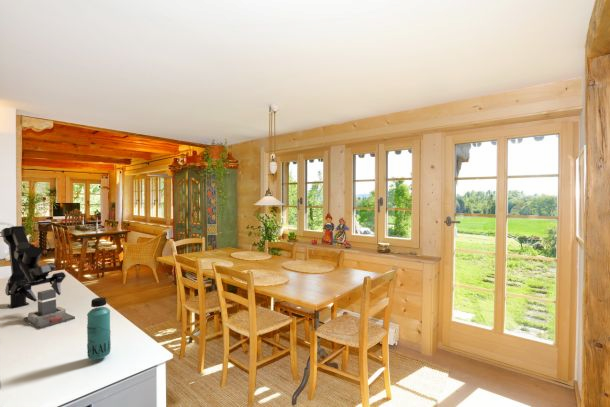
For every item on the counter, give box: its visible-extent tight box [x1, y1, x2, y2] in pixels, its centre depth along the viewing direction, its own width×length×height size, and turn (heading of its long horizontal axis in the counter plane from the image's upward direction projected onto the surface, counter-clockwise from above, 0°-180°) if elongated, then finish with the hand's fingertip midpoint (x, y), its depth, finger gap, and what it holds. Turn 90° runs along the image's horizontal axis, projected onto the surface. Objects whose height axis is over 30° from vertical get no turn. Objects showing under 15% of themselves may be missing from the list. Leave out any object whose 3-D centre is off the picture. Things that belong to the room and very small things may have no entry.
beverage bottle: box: [86, 296, 112, 360], centre depth 101 cm, size 6×7×20 cm
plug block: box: [36, 288, 57, 316], centre depth 135 cm, size 4×5×11 cm
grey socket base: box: [22, 306, 76, 330], centre depth 134 cm, size 18×12×3 cm, turn 59°
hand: (48, 297), depth 135 cm, fingers open, 9 cm apart
